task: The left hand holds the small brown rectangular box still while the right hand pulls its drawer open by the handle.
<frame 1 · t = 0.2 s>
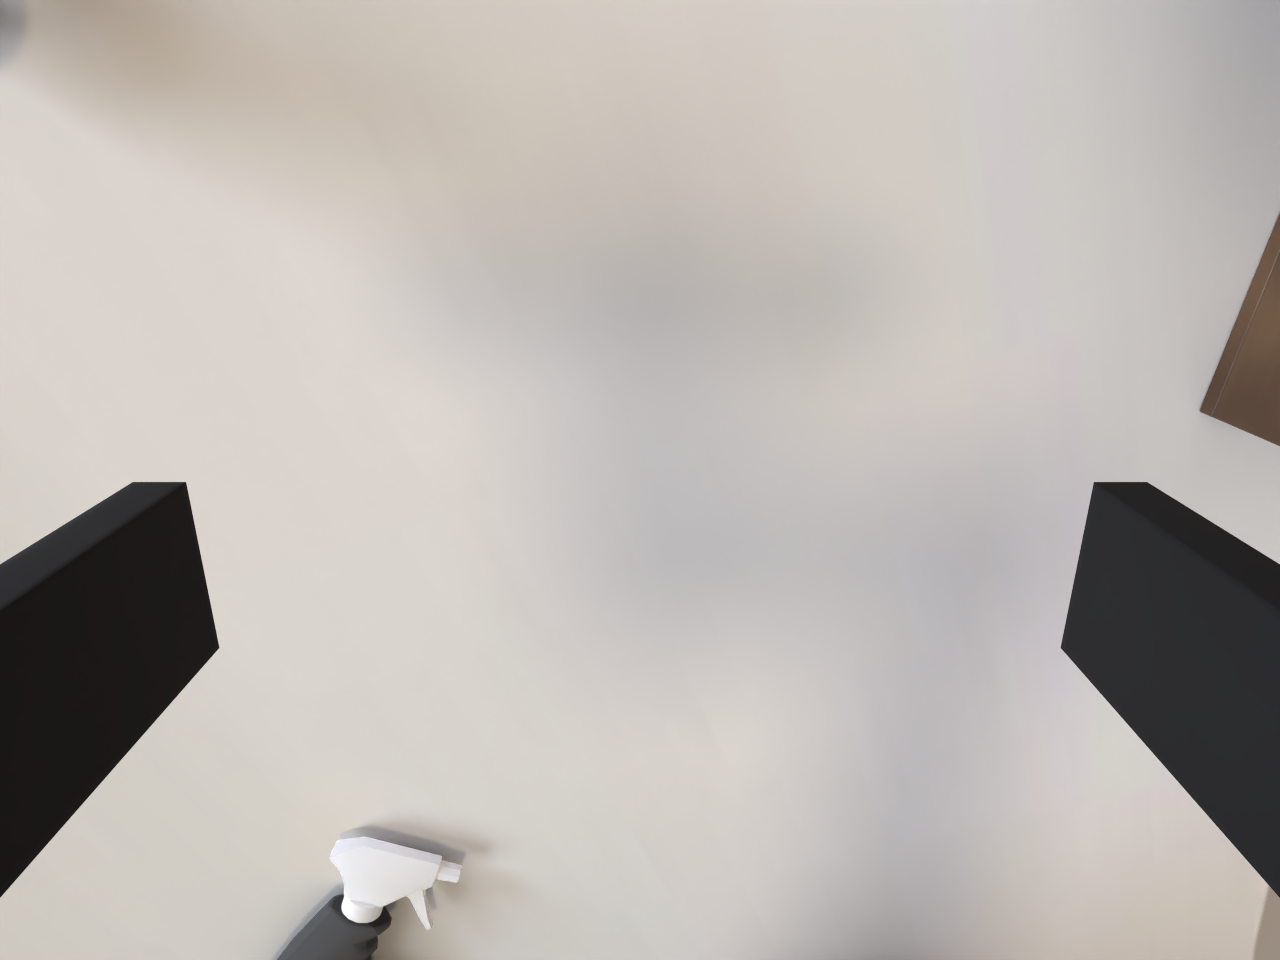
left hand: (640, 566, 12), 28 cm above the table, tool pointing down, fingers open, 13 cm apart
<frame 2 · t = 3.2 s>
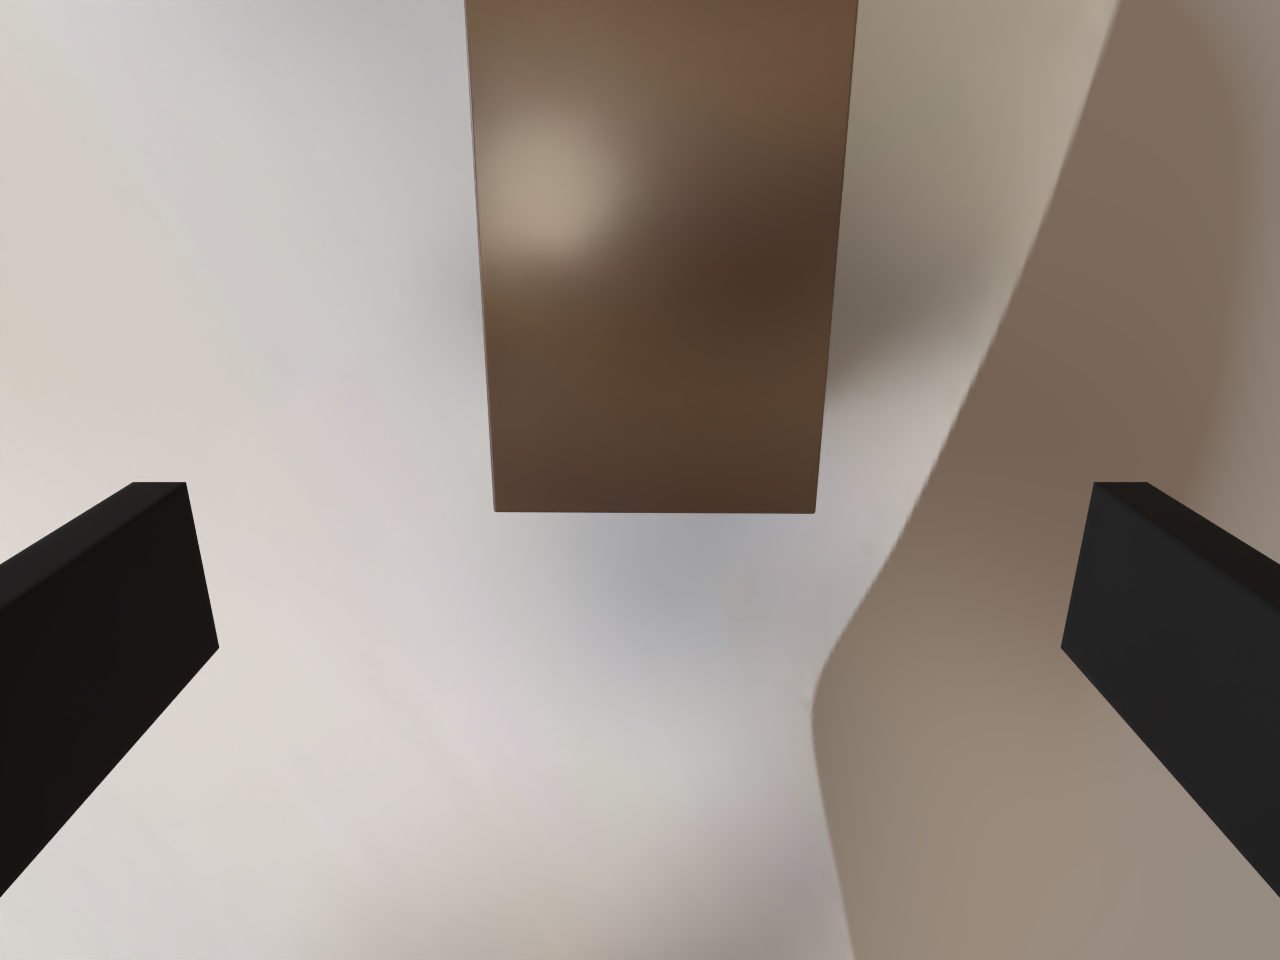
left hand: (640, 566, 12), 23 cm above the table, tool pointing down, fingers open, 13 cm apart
brown rectangular box: (653, 184, 32), on the table
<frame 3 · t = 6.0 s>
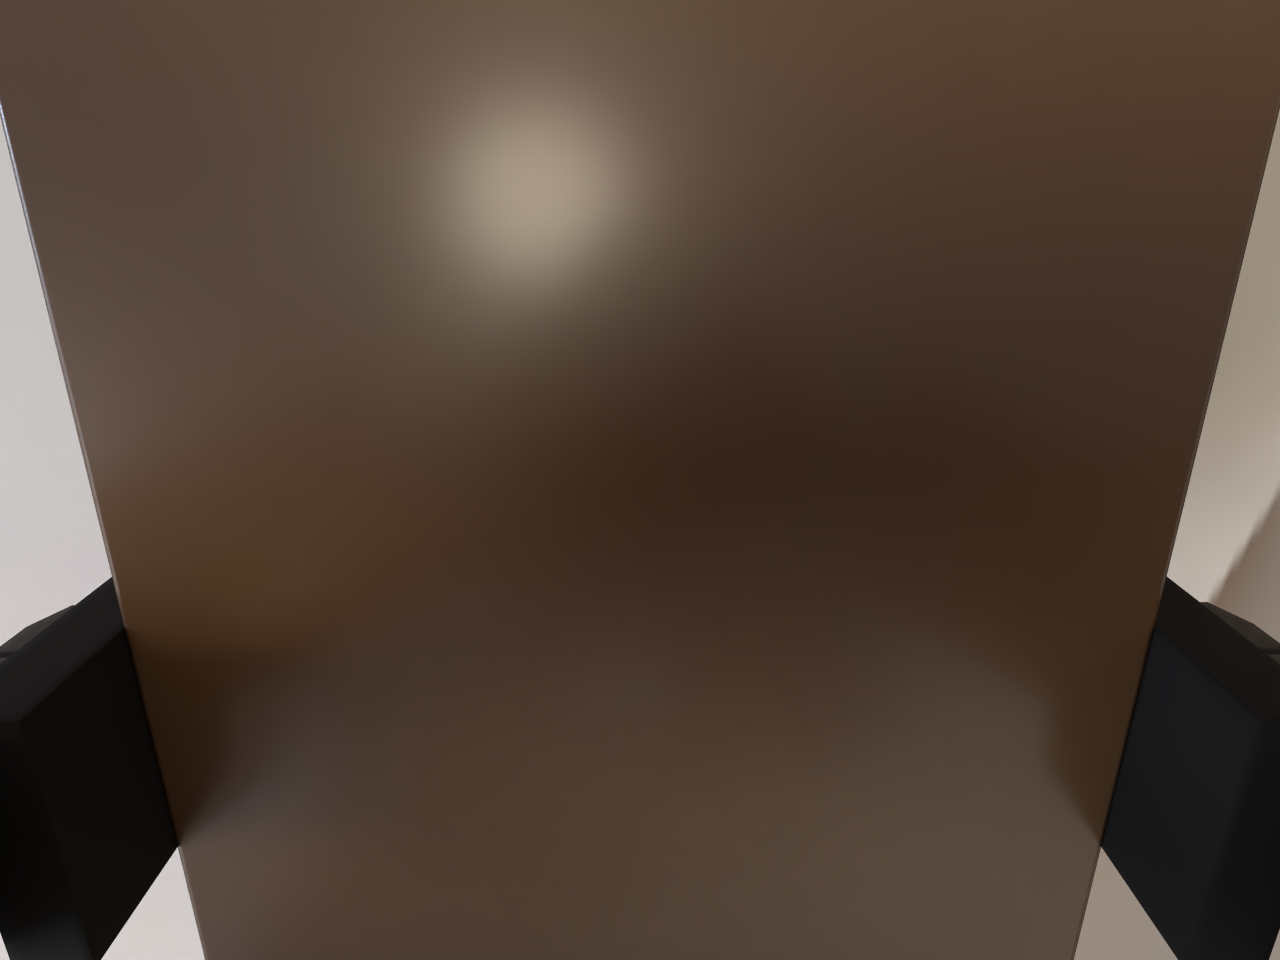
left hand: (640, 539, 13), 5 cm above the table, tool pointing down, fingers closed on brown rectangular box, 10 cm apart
brown rectangular box: (639, 199, 16), on the table, touching left hand
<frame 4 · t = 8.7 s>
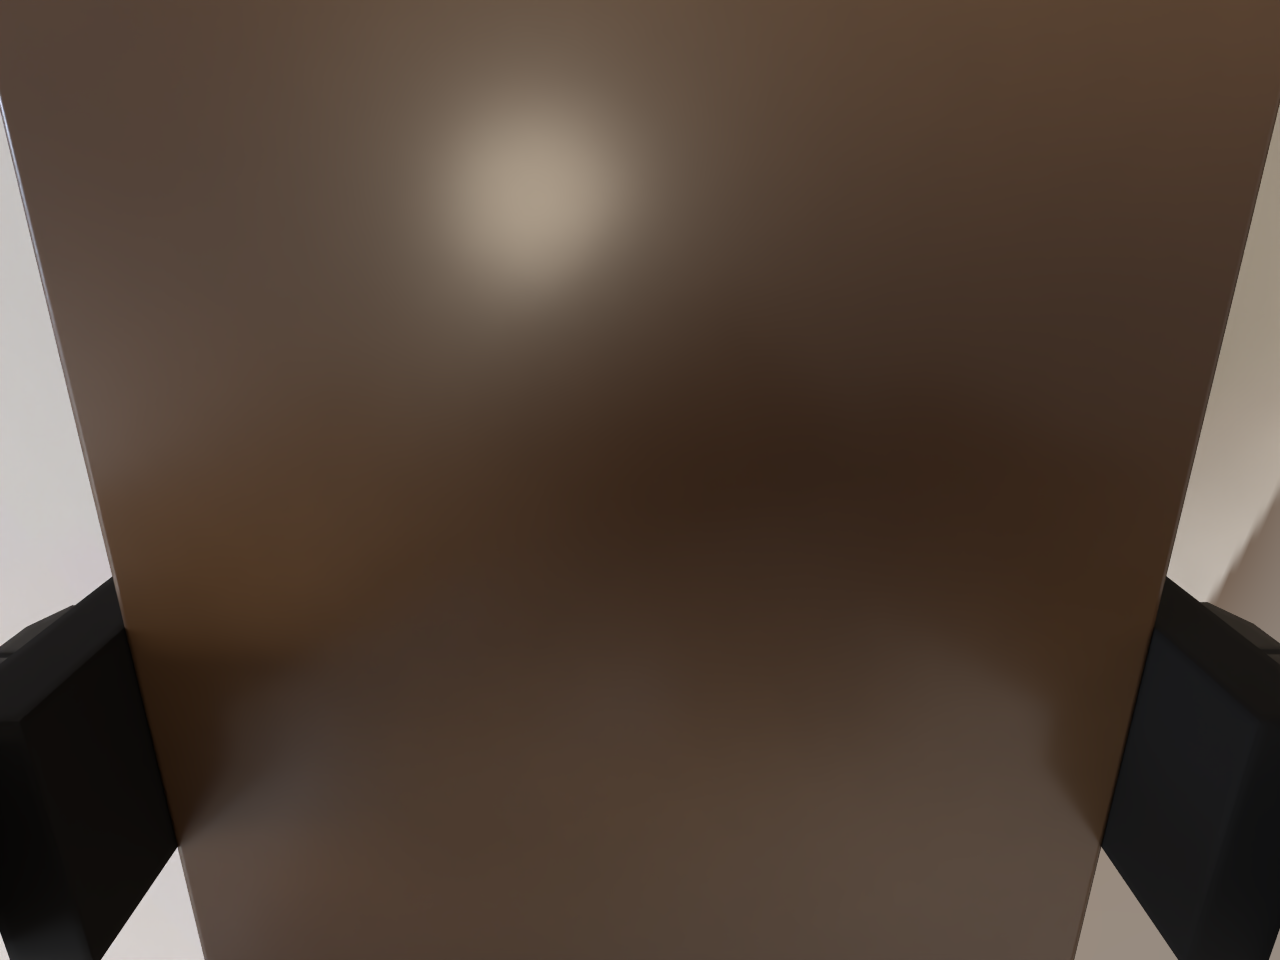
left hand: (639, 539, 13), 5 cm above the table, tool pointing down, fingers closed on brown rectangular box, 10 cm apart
brown rectangular box: (639, 200, 16), on the table, touching left hand
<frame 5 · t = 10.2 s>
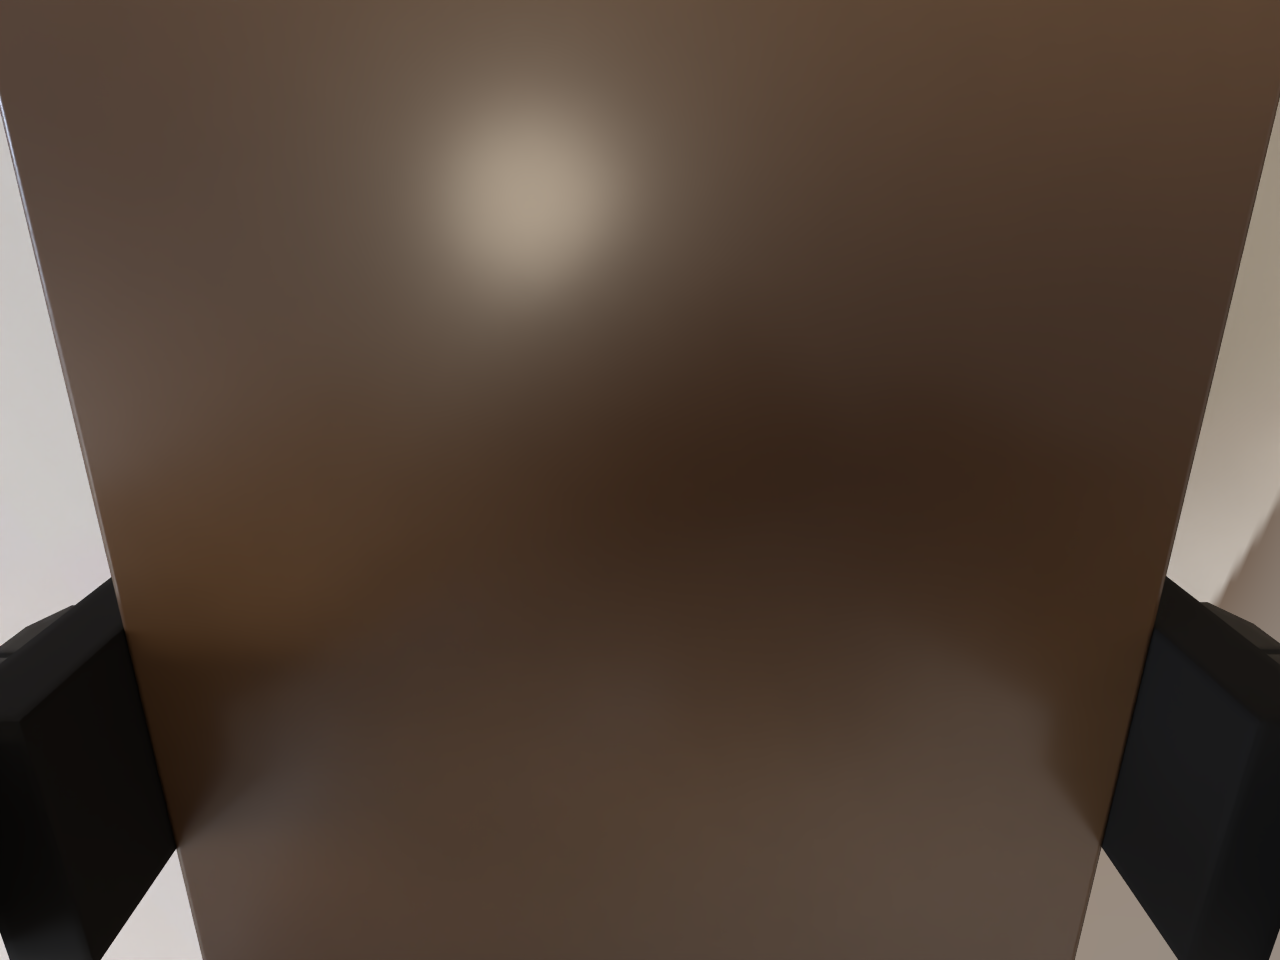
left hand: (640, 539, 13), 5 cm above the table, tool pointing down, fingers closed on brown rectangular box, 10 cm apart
brown rectangular box: (638, 201, 16), on the table, touching left hand
when the left hand's fingers open (5 cm above the table, at t = 12.0 s): brown rectangular box stays where it is, on the table.
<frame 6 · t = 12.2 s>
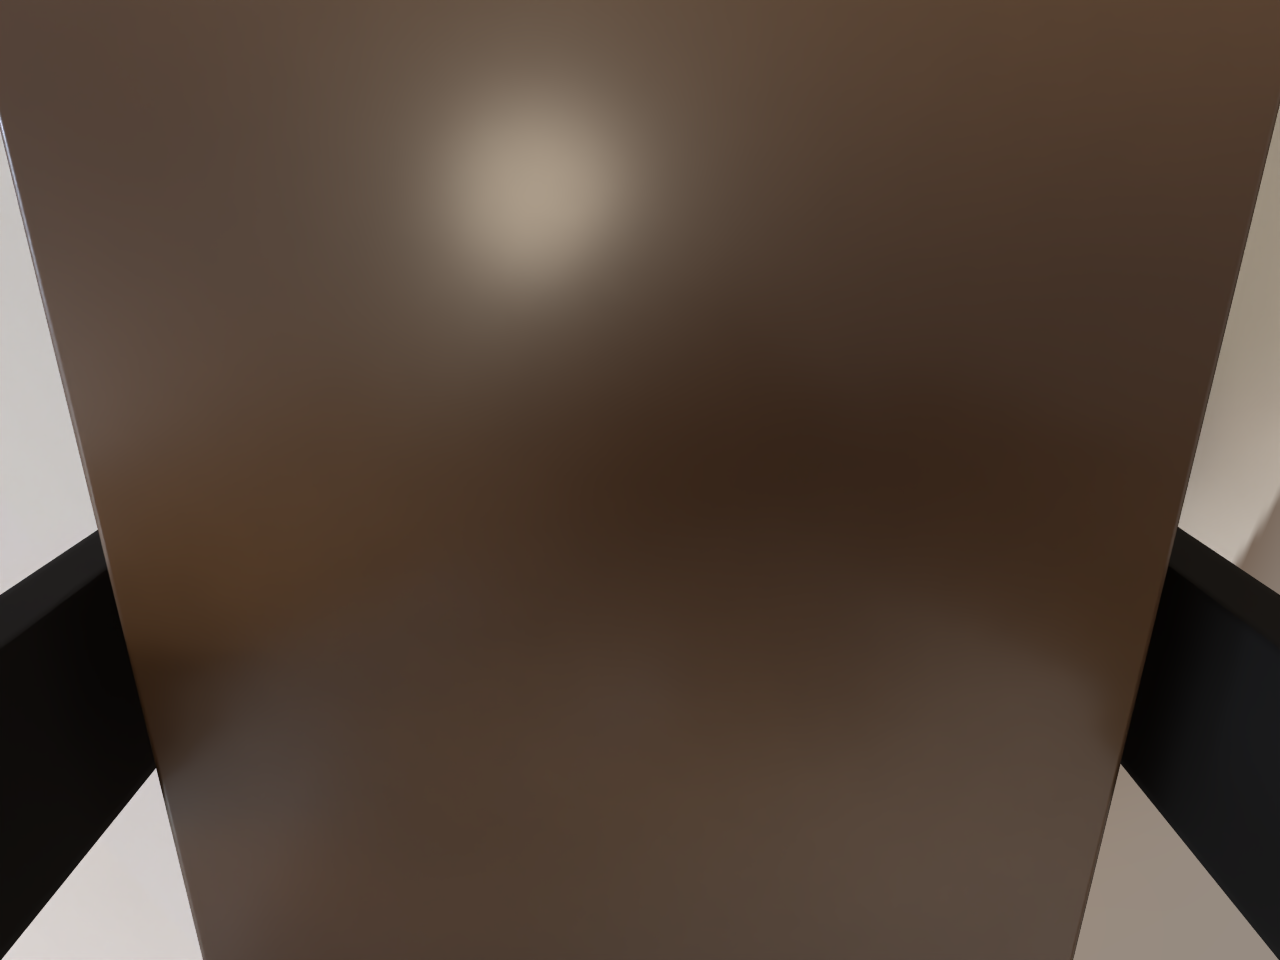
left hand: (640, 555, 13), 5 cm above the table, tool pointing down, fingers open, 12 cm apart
brown rectangular box: (638, 190, 16), on the table
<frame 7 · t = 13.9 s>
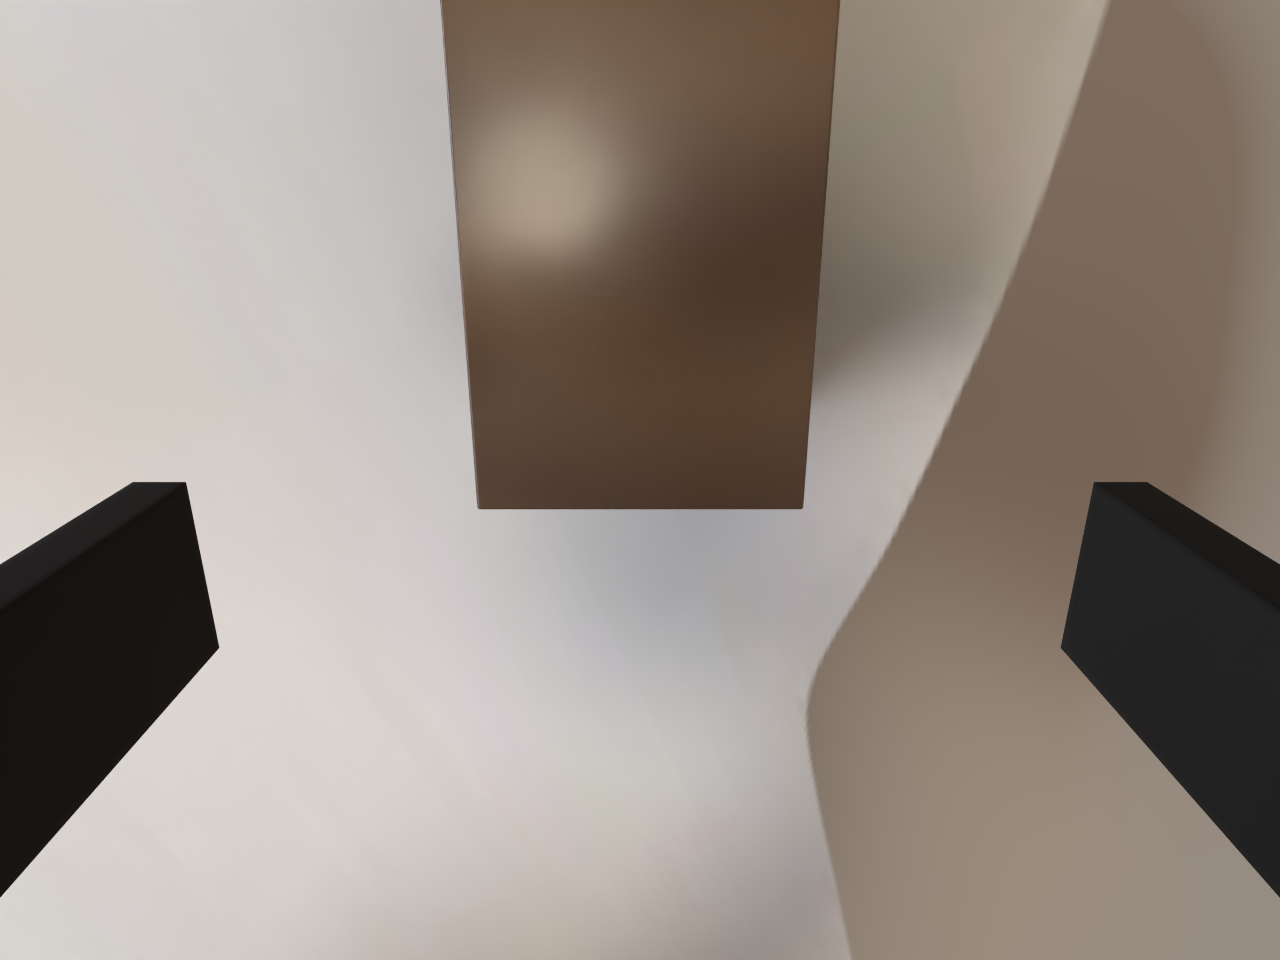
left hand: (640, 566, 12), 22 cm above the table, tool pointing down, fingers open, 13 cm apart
brown rectangular box: (640, 177, 32), on the table
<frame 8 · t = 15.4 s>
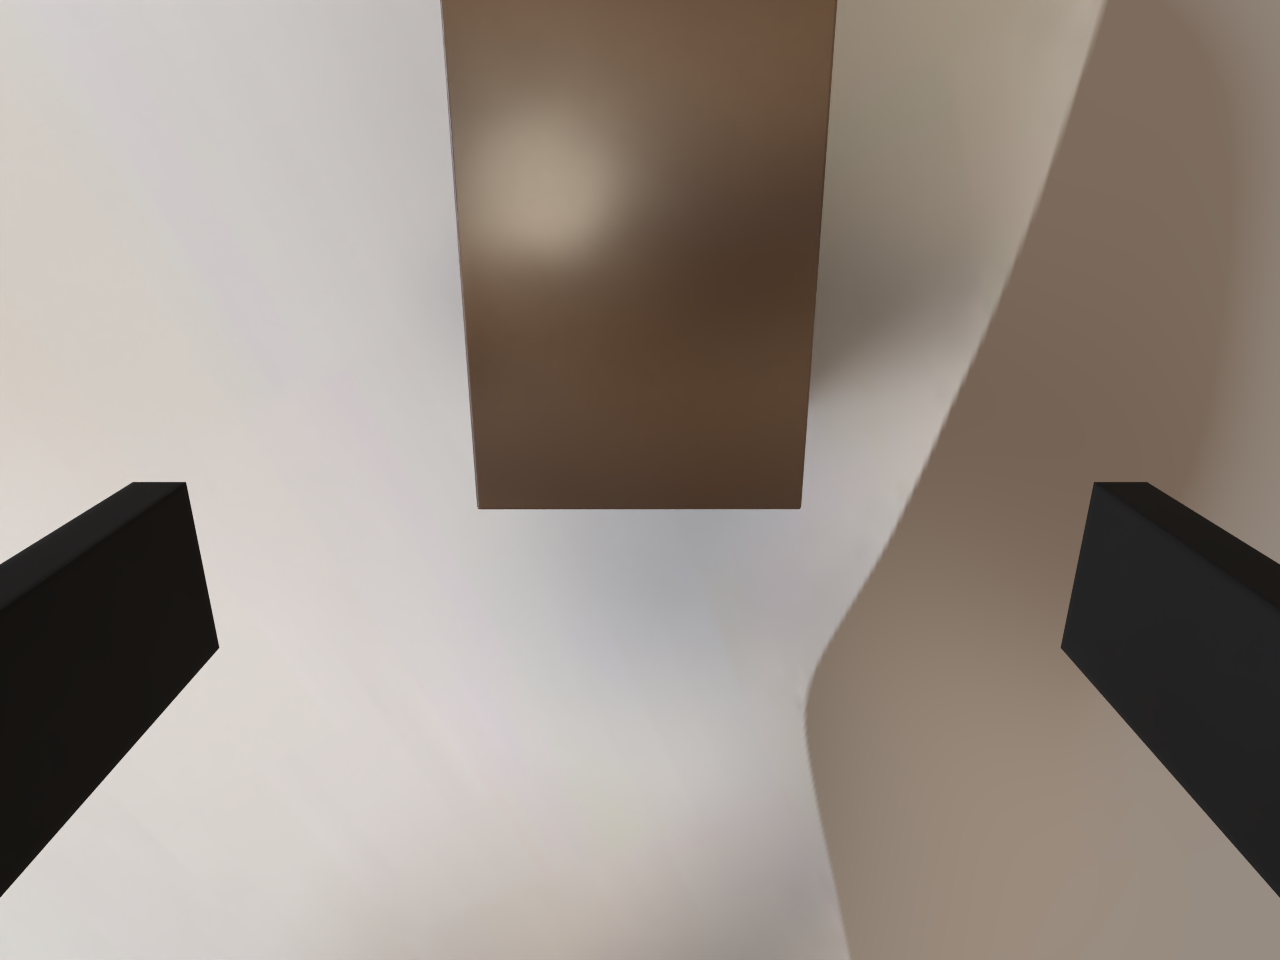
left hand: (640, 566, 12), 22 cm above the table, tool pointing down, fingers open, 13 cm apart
brown rectangular box: (639, 179, 32), on the table
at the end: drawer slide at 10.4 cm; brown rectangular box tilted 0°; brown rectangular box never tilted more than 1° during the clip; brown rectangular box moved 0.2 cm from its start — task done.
